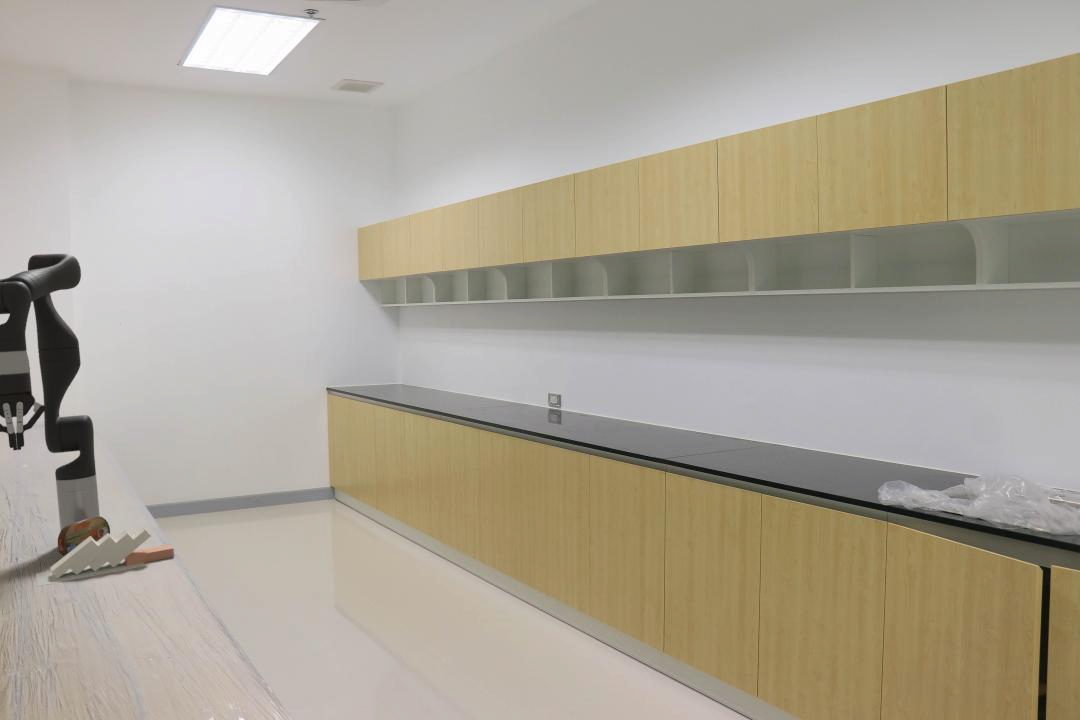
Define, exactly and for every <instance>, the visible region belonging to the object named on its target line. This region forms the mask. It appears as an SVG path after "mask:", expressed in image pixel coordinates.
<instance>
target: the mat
mask: <svg viewBox="0 0 1080 720" xmlns="http://www.w3.org/2000/svg"><path fill="white" fill-rule="evenodd" d="M141 567H142V568H143V567H146V565H145V562H144V563H138V564H133V565H128V566H127V565H126V563H125V558H124V559H123V560H122V561H121V562H120V563H118V564H117V565H116V566H115V567H114V568H113V567H112V566H111V565H110V564H109V563H108V562H106V563H105V564H104V565H103V566H101V567H100V568H99V569H98V570H97V571H94V570H93V569H92V568H91V567H90V566H89V565H88V566H87V567H86V568H85V569H84V570H82V571H81V572H80V573H79V574H77V575H76V574H75V573H74V572H73V571H72V570H71V569H69V570H68V571H67V572H65V573H64V574H63V575H62V576H60V577H59V578H58V579H57V578H56V577H55V576H54V575H53V574H52V573H51V570H49V571H44V572H40V573H36V587H41V586H47V585H54V584H58V583H63V582H68V581H74V580H79V579H83V578H84V579H85V578H90V577H95V576H100V575H105V574H110V573H115V572H121V571H126V570H132V569H137V568H141Z"/></svg>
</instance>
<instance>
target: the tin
mask: <svg viewBox="0 0 1080 720" xmlns="http://www.w3.org/2000/svg"><path fill="white" fill-rule="evenodd" d="M107 533H109V534H110V535H111V527H110V525H109V522H108V520H106V518H104V517H102V516H100V517H93V518H88V519H85V520H82V521H79V522H77V523H74V524H71V525H68V526H66V527H64V528H63V529H62V530H61V531H59V534H58V537H57V548H58V551H59V553H60V555H61V556H62V558H63V557H64V556H66V555H67V554H68V553H69V552H71V551H72V550H73V549H74V548H76V547H77V546H78V545H79V544H81V543H82V542H83V541H84V540H86V539H87V538H88V537H90V536H91V537H92V538H93V539H94V540H95V541H96V542H97V541H98V540H100V539H101V538H102V537H103V536H105V535H106V534H107Z"/></svg>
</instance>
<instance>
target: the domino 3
mask: <svg viewBox="0 0 1080 720" xmlns="http://www.w3.org/2000/svg"><path fill="white" fill-rule="evenodd" d="M114 540H115V542H116V543H115V544H114V545H113V546H112V547H110V548H109V549H108V550H107V551H106V552H104V553H103V554H102V555H101V556H99V557H98V558H97V559H96V560H95V561H93V562H92V563H91V564H90V565H89V566H90V567H91V568H92V569H93V570H94V571H97V570H98V569H99V568H100V567H101V566H103V565H104V564H105V563H106V562H107V561H109V560H110V559H111V558H112V557H113V556H115V555H116V554H117V553H118V552H119V551H121V550H122V549H123V548H124V547H125V546H127V545H128V544H129V543H130V542H132V541H133V538H132V536H131V534H130V533H129V532H128V531H127V530H126V529H124V530H123V531H122V532H121V533H119V534H118V535H117V536H116V537H115V538H114Z"/></svg>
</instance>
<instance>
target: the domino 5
mask: <svg viewBox="0 0 1080 720" xmlns="http://www.w3.org/2000/svg"><path fill="white" fill-rule="evenodd" d="M174 550H175V549H174V547H173V546H172V545H171V544H165V545H159V546H152V547H148V548H143V549H142V548H141V549H135V550H134V551H133V552H132V553H130V554H129V555H128V556H127V557H126V558H125V563H126V565H127V566H128V565H133V564H138V563H144V564H145V563H148V562H154V561H158V560H163V559H164V560H165V559H169V558H174V557H175V551H174Z"/></svg>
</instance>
